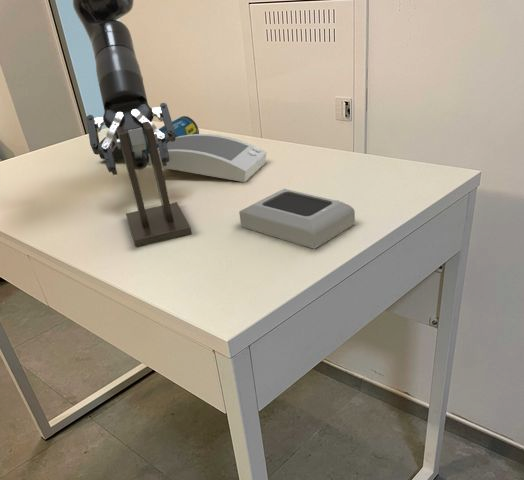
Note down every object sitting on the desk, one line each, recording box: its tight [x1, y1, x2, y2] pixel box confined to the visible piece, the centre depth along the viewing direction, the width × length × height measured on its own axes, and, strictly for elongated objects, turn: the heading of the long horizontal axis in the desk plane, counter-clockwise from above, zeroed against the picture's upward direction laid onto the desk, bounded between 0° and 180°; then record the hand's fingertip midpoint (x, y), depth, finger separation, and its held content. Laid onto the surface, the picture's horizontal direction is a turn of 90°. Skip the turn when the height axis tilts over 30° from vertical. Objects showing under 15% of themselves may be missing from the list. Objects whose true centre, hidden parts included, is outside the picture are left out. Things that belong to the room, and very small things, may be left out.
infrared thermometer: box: [98, 115, 200, 161], centre depth 123 cm, size 6×13×20 cm
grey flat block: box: [238, 188, 356, 250], centre depth 84 cm, size 10×4×15 cm
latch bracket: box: [116, 121, 193, 248], centre depth 86 cm, size 12×9×16 cm
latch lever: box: [128, 128, 149, 171], centre depth 87 cm, size 13×4×4 cm, turn 17°
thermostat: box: [148, 133, 267, 183], centre depth 109 cm, size 11×21×6 cm, turn 68°
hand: (139, 168), depth 93 cm, fingers open, 8 cm apart
